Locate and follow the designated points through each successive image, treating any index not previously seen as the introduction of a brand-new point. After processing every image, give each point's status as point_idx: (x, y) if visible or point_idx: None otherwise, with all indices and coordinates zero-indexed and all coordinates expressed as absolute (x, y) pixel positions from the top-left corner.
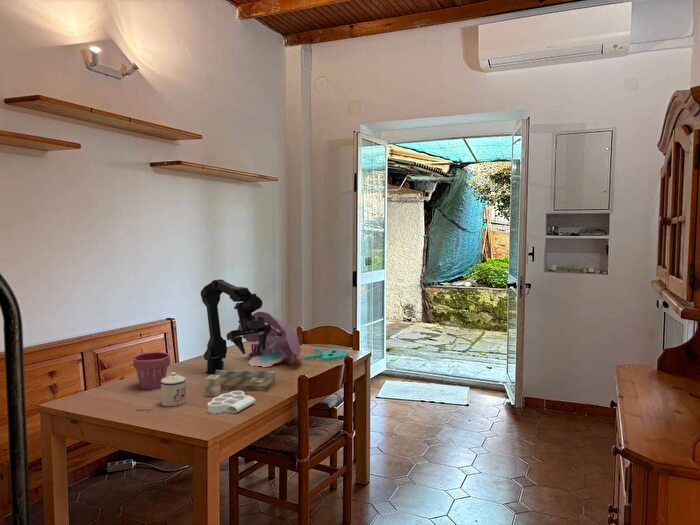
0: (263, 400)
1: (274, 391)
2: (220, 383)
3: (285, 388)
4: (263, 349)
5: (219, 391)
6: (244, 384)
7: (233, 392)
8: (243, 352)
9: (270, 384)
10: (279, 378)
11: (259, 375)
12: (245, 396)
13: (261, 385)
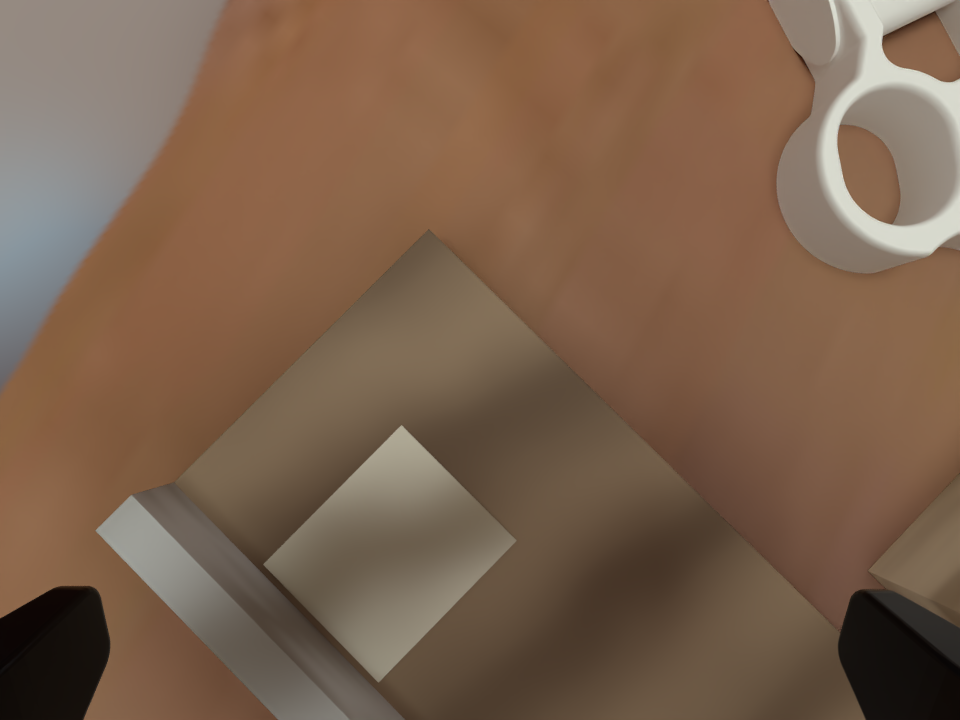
0: (634, 12)
1: (384, 190)
2: (939, 601)
3: (229, 202)
4: (97, 624)
5: (904, 547)
6: (620, 485)
7: (915, 224)
8: (934, 634)
9: (342, 319)
10: None
11: (308, 640)
12: (868, 6)
13: (476, 308)
